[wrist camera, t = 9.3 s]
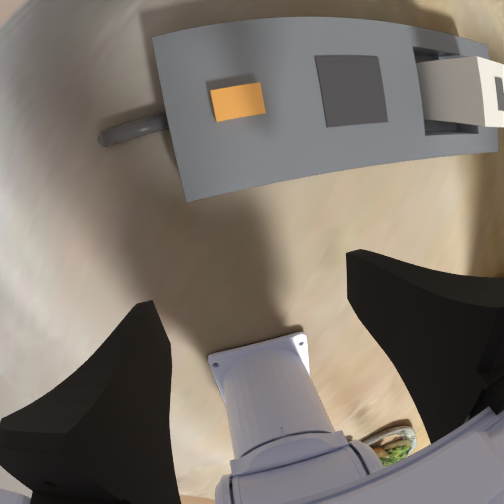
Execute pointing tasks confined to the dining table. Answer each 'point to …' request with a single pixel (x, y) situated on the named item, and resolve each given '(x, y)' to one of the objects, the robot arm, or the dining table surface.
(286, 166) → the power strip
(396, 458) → the salad plate
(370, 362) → the dining table surface
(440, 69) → the block
